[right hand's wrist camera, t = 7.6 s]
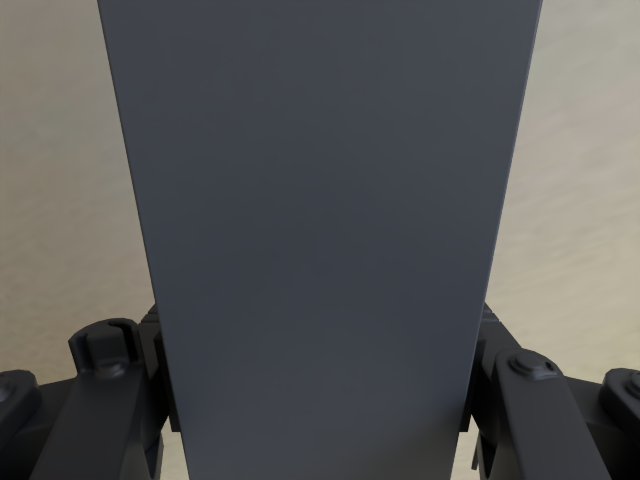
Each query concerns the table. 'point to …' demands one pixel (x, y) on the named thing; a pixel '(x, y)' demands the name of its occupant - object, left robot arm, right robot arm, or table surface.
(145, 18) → the bar
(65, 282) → the table surface
